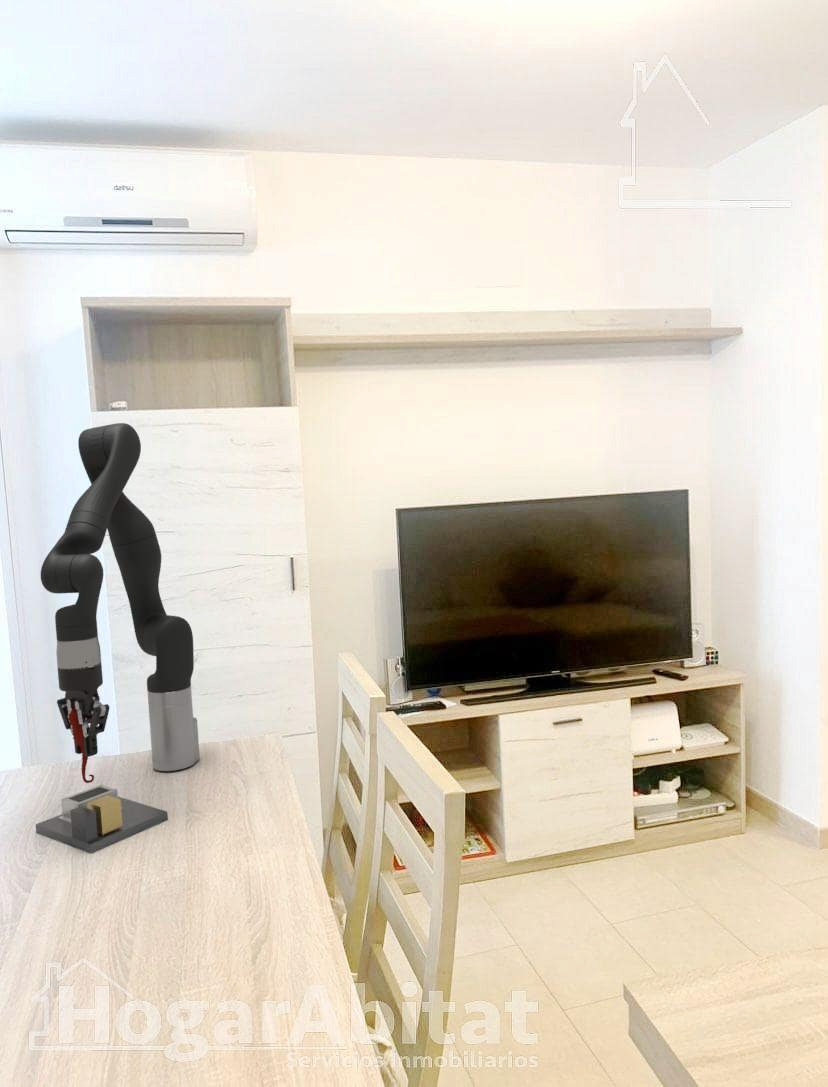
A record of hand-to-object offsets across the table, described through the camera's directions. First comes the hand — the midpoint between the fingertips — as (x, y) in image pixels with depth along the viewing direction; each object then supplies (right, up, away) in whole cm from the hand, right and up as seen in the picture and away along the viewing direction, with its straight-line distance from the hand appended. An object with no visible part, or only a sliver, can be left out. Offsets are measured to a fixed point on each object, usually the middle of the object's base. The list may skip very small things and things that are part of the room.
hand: (86, 753), depth 152 cm
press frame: (+3, -13, -1) cm, 13 cm away
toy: (0, -6, 0) cm, 6 cm away
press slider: (+6, -12, -7) cm, 15 cm away
